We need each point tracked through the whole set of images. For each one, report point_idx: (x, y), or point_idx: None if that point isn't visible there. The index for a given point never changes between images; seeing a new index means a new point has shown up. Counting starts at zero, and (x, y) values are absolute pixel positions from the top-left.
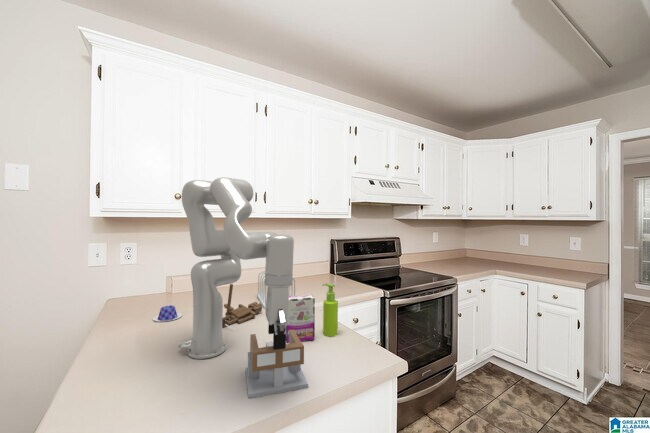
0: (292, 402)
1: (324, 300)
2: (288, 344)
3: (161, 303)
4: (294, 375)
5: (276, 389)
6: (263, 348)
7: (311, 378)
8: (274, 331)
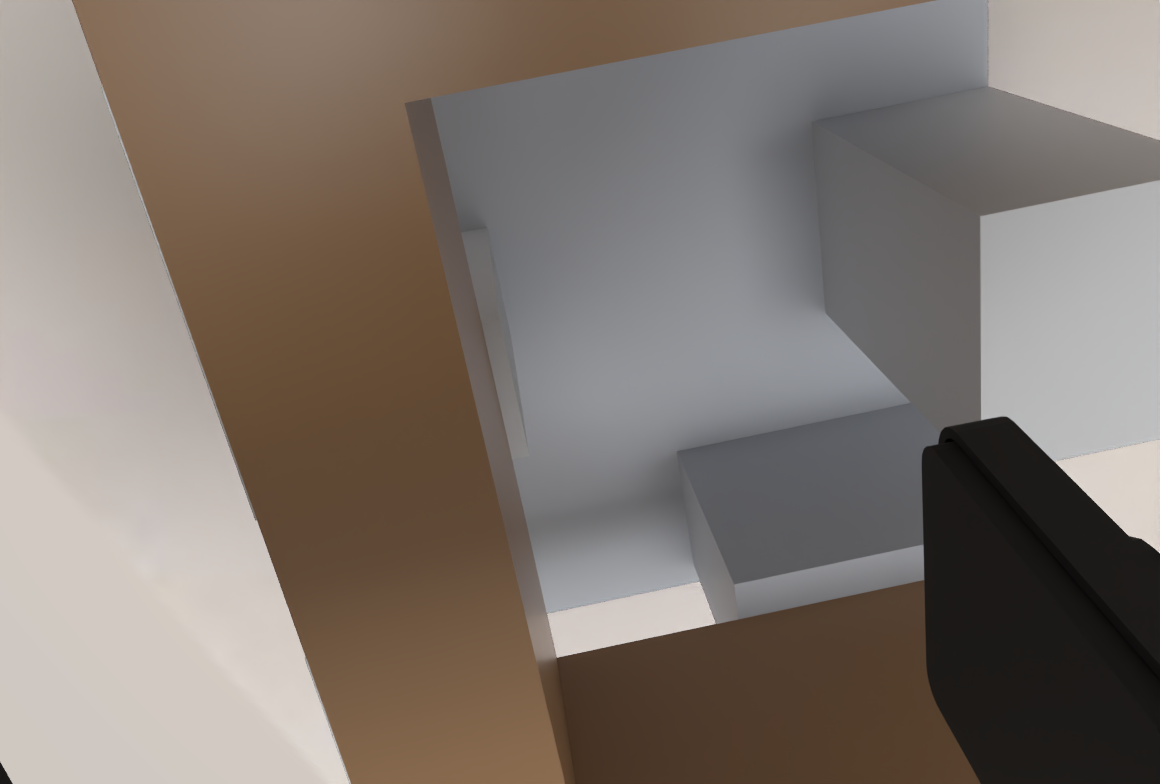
0: (111, 462)
1: None
2: (543, 781)
3: None
4: (604, 497)
5: None
6: (368, 250)
7: (581, 650)
8: (952, 616)
